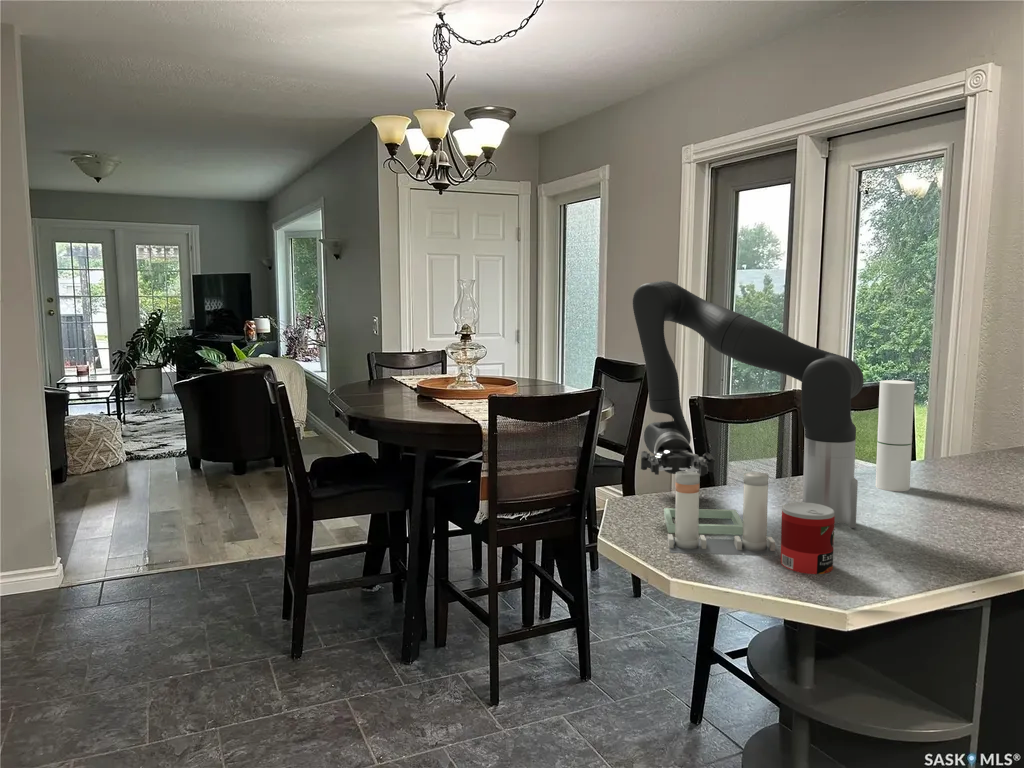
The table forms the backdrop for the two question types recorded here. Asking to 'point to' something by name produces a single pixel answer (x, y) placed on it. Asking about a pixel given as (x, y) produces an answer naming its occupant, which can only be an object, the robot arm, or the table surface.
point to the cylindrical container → (894, 435)
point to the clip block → (722, 547)
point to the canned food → (807, 537)
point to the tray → (710, 528)
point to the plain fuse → (755, 511)
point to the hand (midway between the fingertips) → (680, 470)
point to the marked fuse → (687, 509)
